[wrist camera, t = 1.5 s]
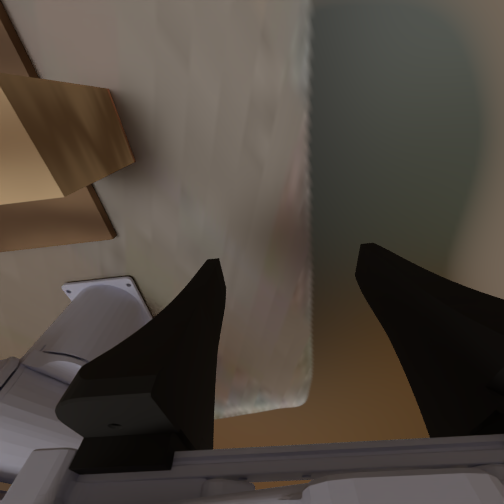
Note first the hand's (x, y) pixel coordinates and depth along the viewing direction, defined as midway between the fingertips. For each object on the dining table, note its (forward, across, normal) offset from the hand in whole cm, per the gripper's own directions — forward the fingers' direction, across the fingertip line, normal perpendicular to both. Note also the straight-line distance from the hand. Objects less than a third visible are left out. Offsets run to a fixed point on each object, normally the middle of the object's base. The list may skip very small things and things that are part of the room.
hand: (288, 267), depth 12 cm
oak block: (+11, +13, -7) cm, 18 cm away
